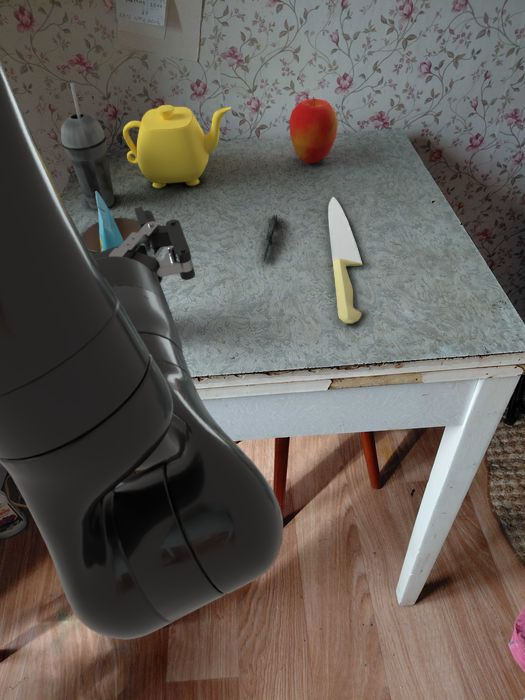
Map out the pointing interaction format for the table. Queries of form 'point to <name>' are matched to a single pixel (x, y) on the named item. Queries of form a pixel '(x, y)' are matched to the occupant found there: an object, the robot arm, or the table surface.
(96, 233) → the coaster
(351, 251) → the knife
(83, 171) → the beverage cup
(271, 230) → the folding knife
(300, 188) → the table surface
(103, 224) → the tube
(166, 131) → the teapot
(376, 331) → the table surface
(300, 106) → the apple
